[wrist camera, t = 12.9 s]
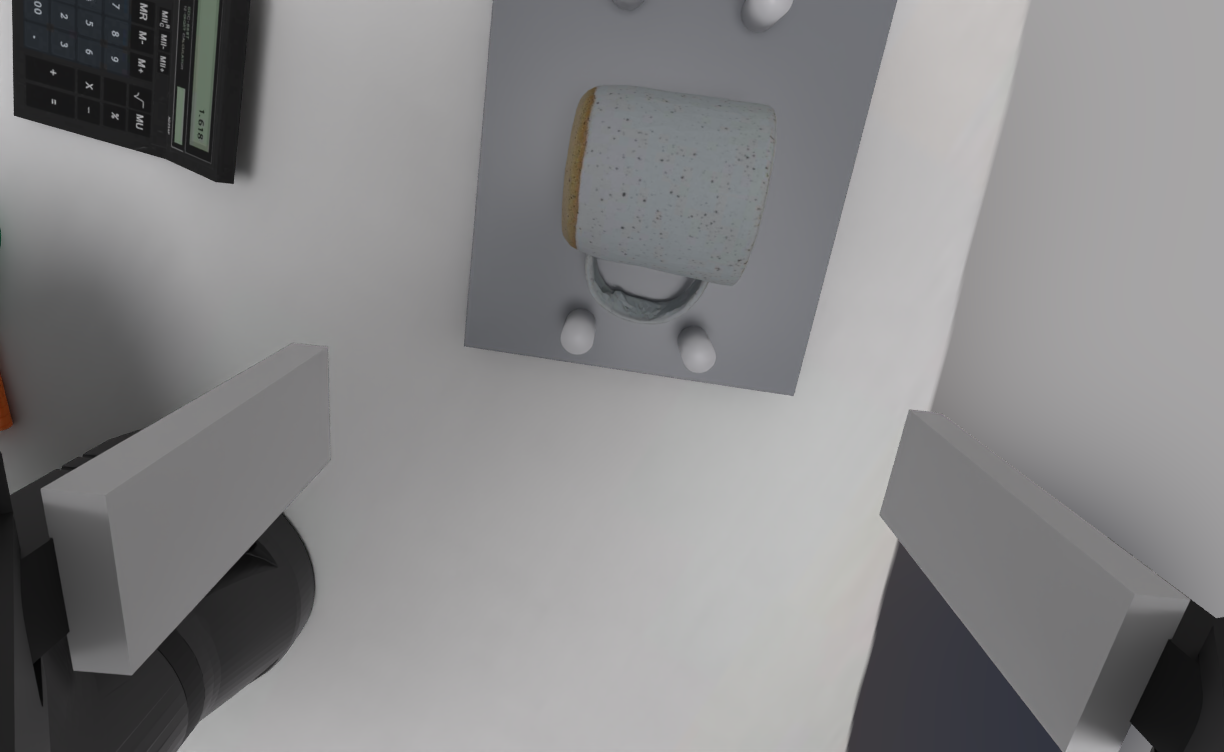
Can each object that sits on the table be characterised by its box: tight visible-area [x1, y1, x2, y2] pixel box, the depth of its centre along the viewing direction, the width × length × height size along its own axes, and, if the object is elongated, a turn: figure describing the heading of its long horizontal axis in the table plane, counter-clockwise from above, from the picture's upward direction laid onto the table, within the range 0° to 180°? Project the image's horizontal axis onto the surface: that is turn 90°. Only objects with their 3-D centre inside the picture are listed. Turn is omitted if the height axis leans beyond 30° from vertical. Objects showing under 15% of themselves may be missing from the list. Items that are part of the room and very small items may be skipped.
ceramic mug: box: [562, 85, 777, 324], centre depth 28 cm, size 11×8×8 cm
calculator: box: [12, 0, 250, 184], centre depth 30 cm, size 9×12×3 cm
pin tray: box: [464, 0, 897, 396], centre depth 31 cm, size 18×20×4 cm
